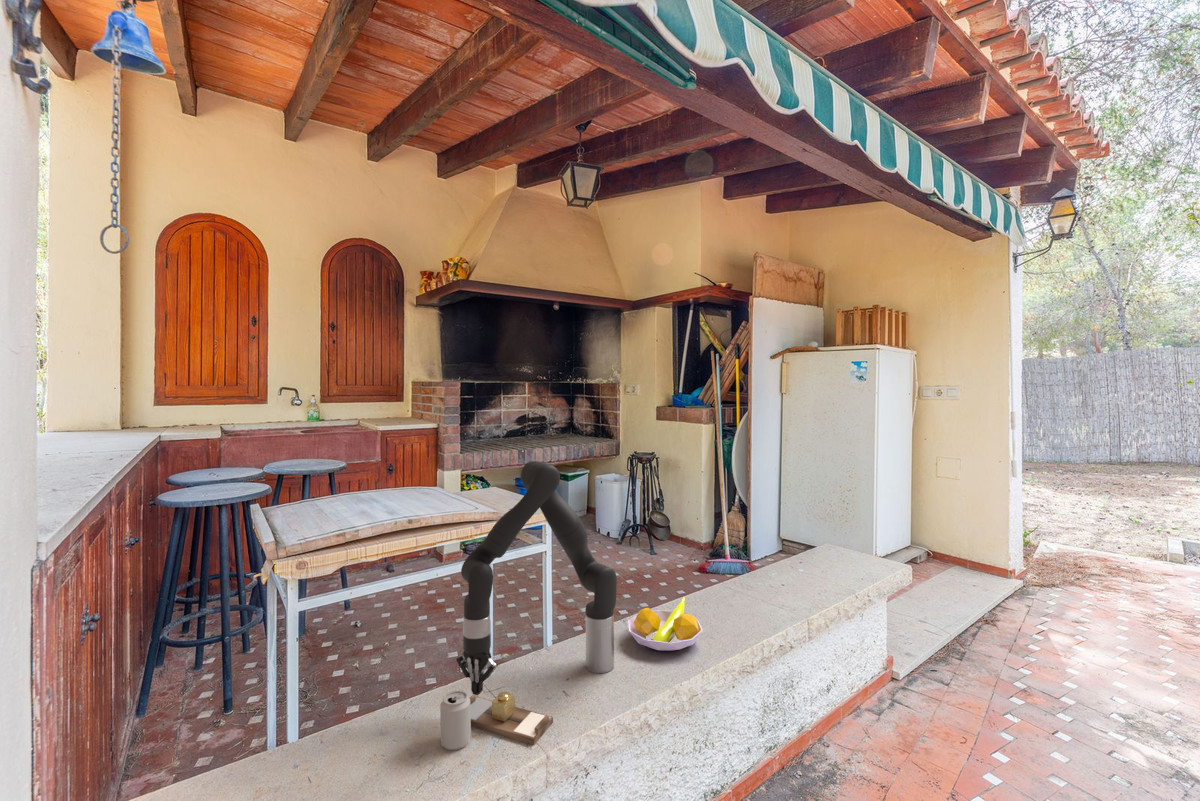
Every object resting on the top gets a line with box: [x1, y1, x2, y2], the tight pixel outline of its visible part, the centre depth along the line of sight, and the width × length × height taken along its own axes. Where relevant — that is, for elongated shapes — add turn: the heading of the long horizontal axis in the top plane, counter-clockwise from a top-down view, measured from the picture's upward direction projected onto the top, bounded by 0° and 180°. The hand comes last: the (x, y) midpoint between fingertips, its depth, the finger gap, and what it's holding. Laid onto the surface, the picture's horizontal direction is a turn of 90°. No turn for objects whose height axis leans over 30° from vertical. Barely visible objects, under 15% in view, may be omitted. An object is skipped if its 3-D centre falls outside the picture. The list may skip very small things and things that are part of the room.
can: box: [439, 690, 472, 751], centre depth 137 cm, size 8×8×12 cm
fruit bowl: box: [627, 596, 703, 652], centre depth 192 cm, size 28×27×11 cm
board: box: [469, 694, 554, 746], centre depth 145 cm, size 10×25×3 cm, turn 67°
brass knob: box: [492, 691, 516, 722], centre depth 145 cm, size 5×4×6 cm
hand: (477, 693), depth 148 cm, fingers closed
